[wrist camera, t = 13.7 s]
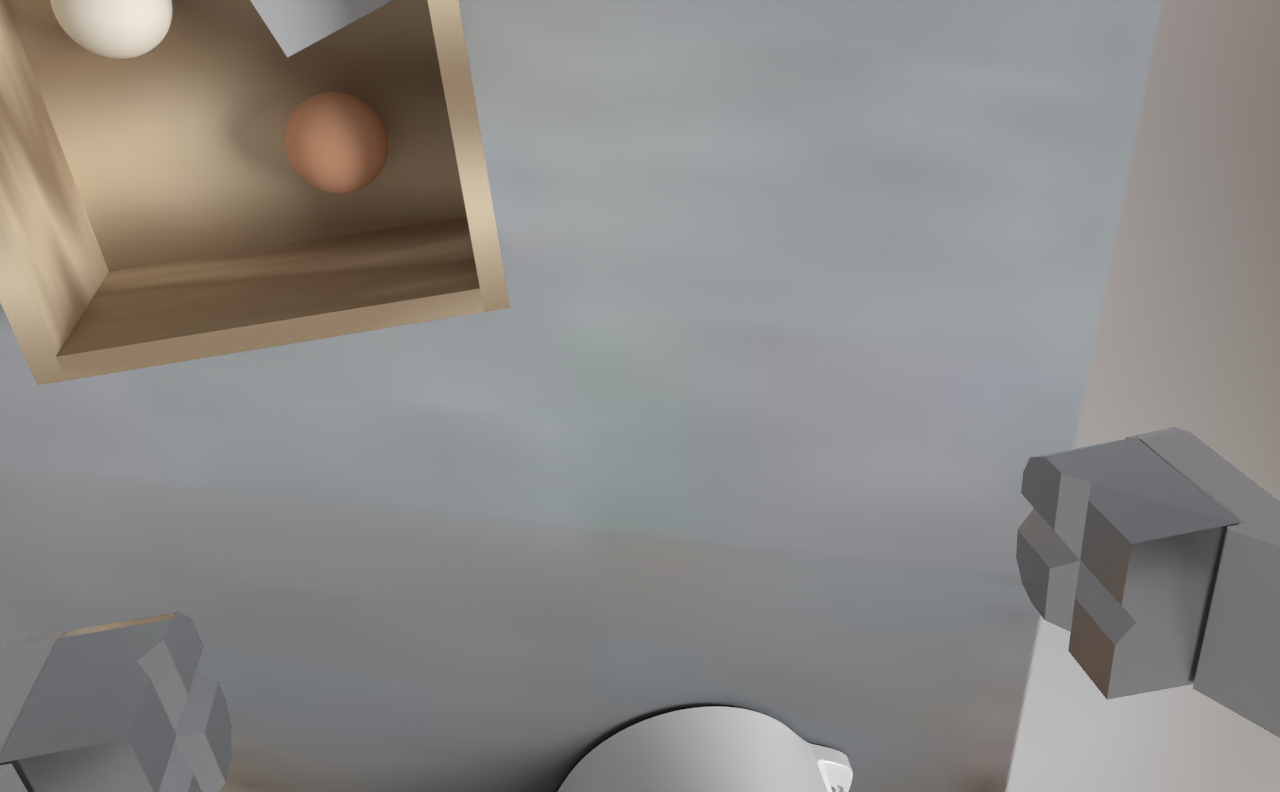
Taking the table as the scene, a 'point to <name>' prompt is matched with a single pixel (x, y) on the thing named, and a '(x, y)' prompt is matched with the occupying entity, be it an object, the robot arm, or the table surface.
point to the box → (232, 189)
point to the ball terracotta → (336, 142)
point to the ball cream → (115, 24)
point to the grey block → (310, 19)
